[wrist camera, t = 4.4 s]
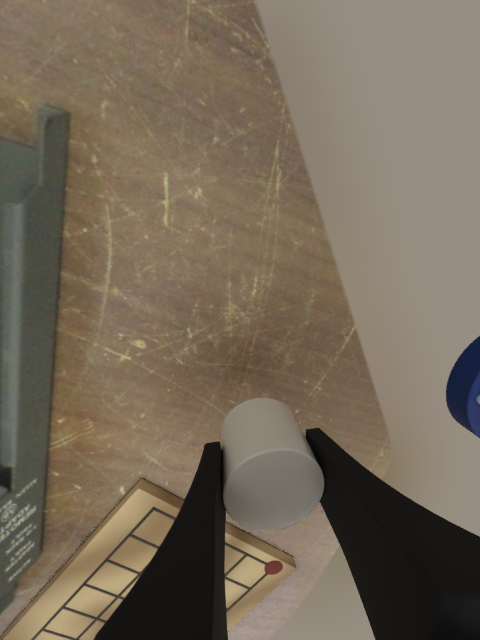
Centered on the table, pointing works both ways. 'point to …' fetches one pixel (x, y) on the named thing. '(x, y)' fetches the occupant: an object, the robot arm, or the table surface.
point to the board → (139, 570)
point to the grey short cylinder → (267, 466)
